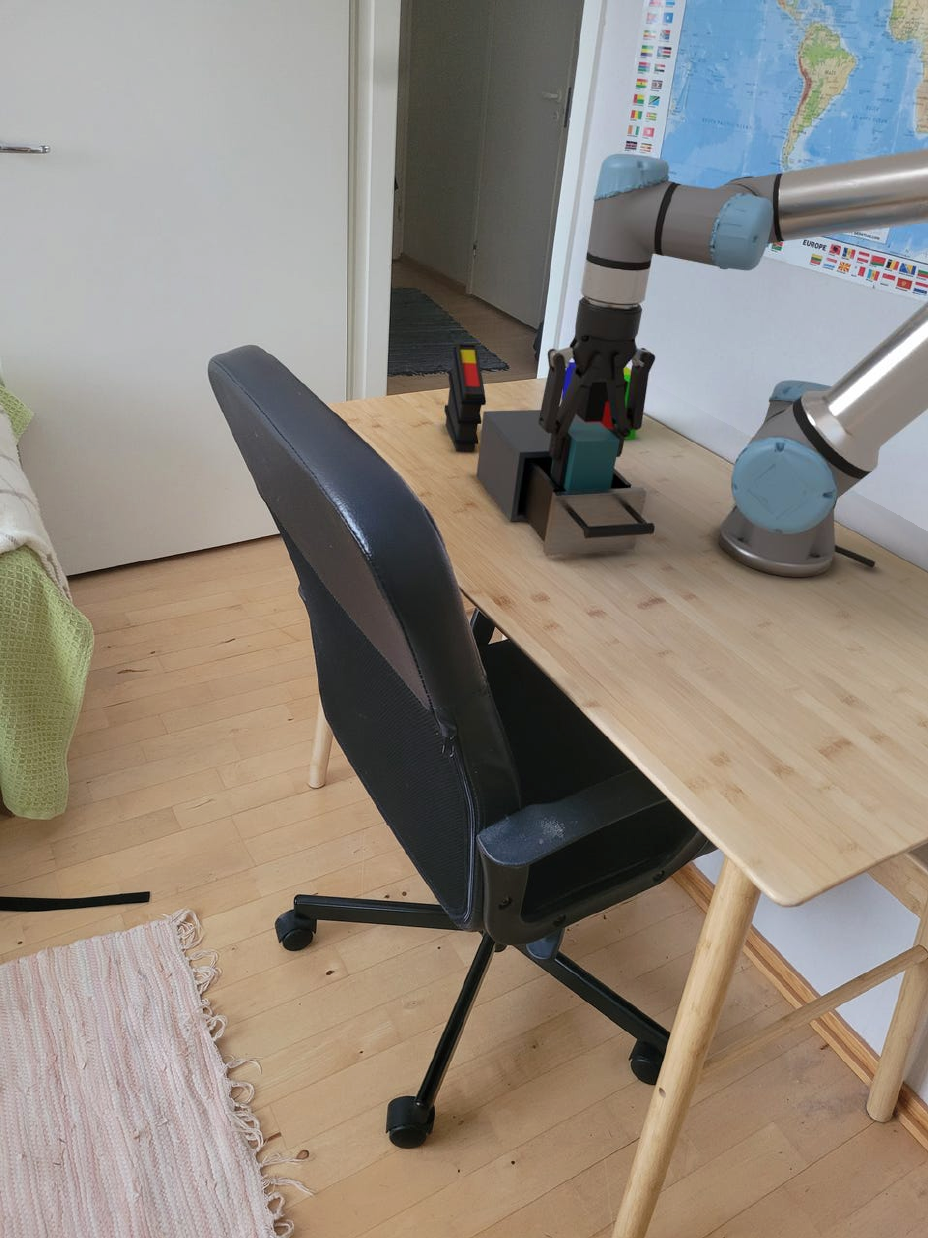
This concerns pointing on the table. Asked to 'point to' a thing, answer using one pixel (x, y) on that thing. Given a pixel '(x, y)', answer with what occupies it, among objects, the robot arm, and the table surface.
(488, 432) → the cabinet
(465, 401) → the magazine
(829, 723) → the table surface
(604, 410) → the puzzle toy
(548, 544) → the drawer
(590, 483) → the block
